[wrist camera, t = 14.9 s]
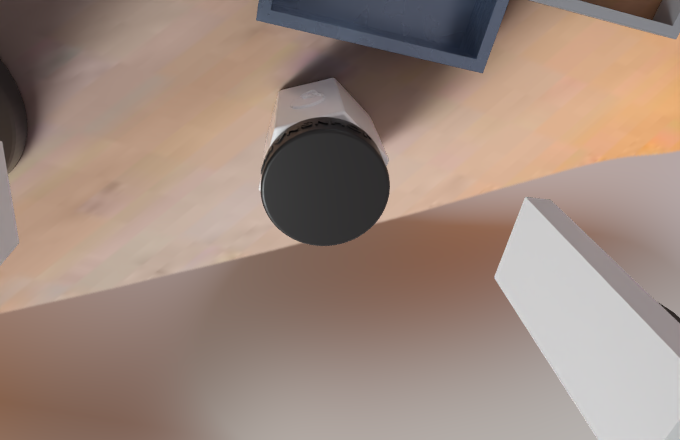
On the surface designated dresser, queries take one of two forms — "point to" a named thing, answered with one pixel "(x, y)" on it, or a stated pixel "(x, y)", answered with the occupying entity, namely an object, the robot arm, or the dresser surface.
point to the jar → (323, 166)
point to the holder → (628, 16)
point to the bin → (399, 25)
